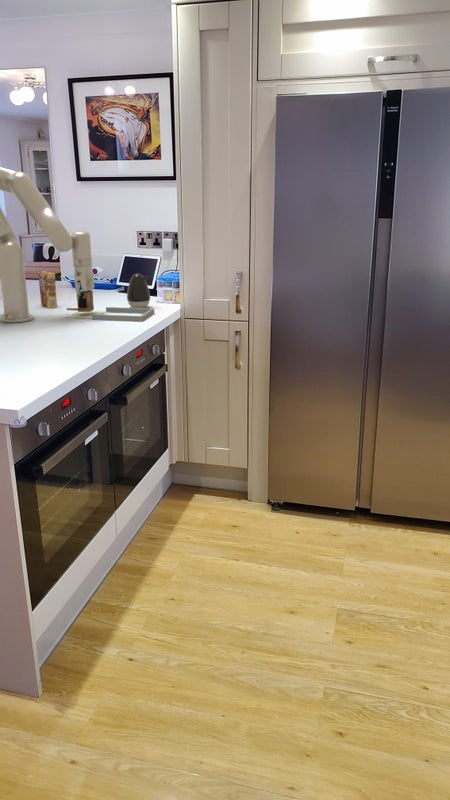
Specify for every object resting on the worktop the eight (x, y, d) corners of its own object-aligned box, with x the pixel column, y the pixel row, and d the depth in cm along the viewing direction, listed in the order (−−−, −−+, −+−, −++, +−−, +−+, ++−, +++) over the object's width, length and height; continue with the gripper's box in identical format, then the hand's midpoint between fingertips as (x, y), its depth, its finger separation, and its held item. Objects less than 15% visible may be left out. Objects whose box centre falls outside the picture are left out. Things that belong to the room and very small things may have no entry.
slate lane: (142, 321, 251) (142, 316, 250) (92, 319, 254) (91, 314, 254) (154, 313, 267) (154, 308, 266) (107, 311, 270) (106, 307, 270)
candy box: (58, 307, 280) (55, 273, 275) (49, 308, 278) (45, 273, 273) (49, 304, 287) (46, 271, 282) (40, 305, 284) (37, 271, 279)
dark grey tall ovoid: (146, 310, 273) (145, 275, 269) (124, 309, 275) (122, 274, 270) (153, 306, 283) (152, 272, 278) (132, 305, 285) (130, 271, 280)
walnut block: (89, 312, 260) (88, 292, 257) (64, 311, 262) (62, 292, 259) (93, 309, 265) (92, 290, 262) (69, 308, 266) (67, 290, 264)
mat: (93, 318, 256) (93, 318, 256) (66, 317, 258) (66, 317, 258) (105, 312, 269) (105, 311, 269) (79, 311, 271) (79, 310, 271)
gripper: (83, 265, 248) (86, 310, 254) (98, 260, 264) (101, 303, 269) (65, 264, 249) (69, 310, 255) (81, 260, 265) (84, 302, 271)
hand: (85, 306), depth 262 cm, fingers closed on walnut block, 5 cm apart
